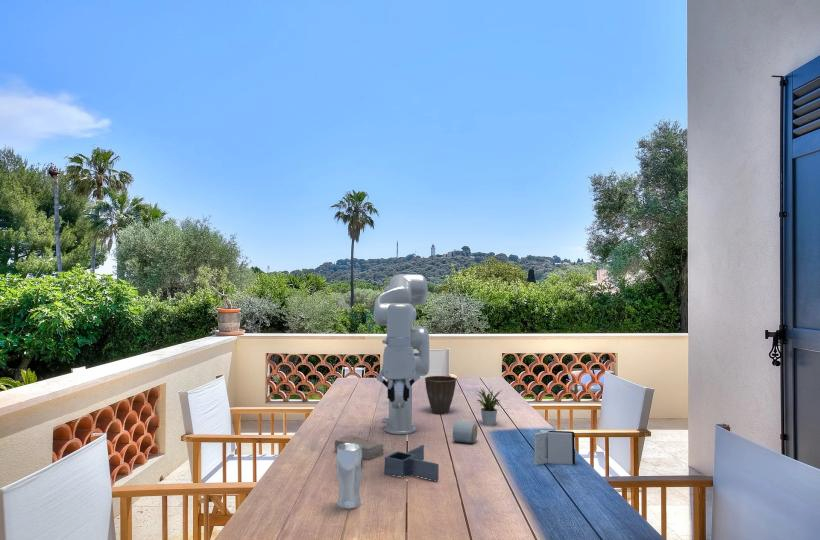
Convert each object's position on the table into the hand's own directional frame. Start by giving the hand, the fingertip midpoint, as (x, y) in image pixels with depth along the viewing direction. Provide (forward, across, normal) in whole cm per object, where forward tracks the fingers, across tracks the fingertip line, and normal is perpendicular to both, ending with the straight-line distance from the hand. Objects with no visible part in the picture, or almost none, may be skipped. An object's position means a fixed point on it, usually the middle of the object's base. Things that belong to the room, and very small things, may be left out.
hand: (398, 400), depth 156 cm
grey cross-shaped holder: (+22, +8, -1) cm, 23 cm away
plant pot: (+21, +34, +74) cm, 84 cm away
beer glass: (+22, -17, -22) cm, 36 cm away
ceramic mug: (+22, +31, +28) cm, 47 cm away
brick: (+22, -10, +21) cm, 32 cm away
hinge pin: (+2, 0, 0) cm, 2 cm away
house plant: (+21, +47, +50) cm, 72 cm away
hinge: (+22, +52, -2) cm, 57 cm away
